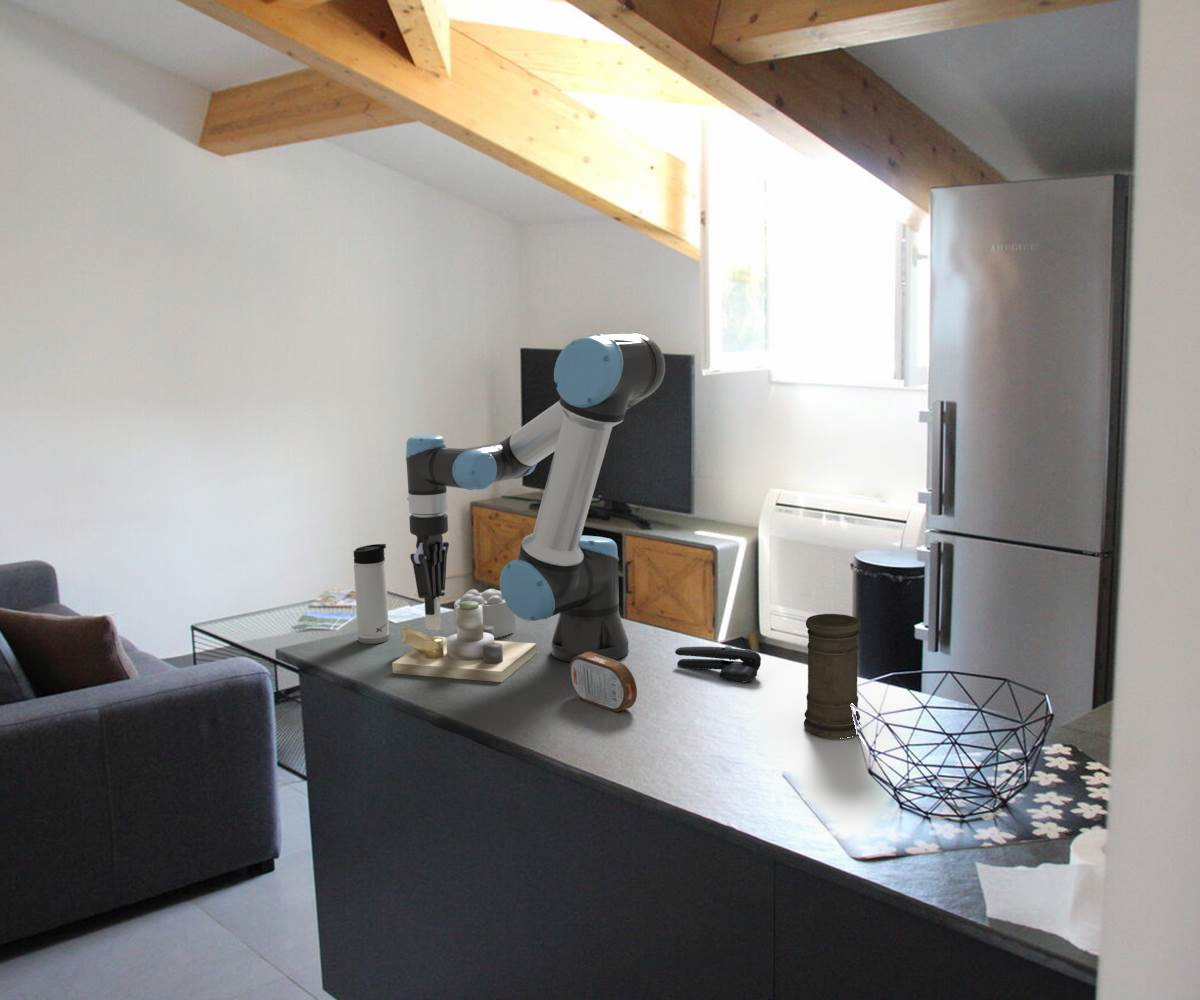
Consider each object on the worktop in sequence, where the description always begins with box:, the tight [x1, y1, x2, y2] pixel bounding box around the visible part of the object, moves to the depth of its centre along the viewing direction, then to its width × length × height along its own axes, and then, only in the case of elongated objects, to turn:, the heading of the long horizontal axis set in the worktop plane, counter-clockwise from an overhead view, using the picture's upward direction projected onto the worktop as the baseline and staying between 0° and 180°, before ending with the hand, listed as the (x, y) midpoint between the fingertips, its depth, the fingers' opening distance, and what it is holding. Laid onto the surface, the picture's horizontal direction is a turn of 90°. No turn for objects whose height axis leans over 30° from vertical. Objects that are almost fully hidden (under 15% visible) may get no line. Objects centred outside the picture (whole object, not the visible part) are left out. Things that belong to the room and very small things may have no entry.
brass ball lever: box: [401, 626, 444, 658], centre depth 224 cm, size 13×4×3 cm, turn 38°
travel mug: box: [353, 543, 390, 645], centre depth 238 cm, size 6×7×20 cm
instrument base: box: [391, 601, 538, 683], centre depth 222 cm, size 22×18×12 cm
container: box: [803, 613, 862, 740], centre depth 183 cm, size 9×9×18 cm
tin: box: [569, 652, 638, 713], centre depth 198 cm, size 15×3×8 cm, turn 41°
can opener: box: [674, 645, 762, 684], centre depth 214 cm, size 18×7×6 cm, turn 52°
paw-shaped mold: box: [453, 588, 518, 639], centre depth 242 cm, size 10×13×9 cm
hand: (433, 628), depth 234 cm, fingers closed
